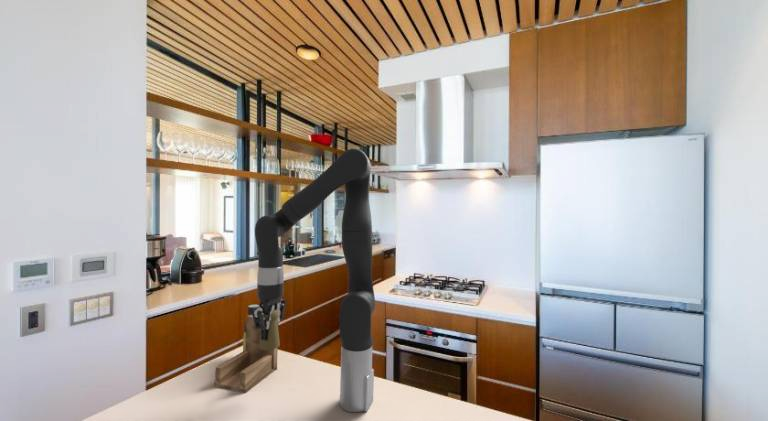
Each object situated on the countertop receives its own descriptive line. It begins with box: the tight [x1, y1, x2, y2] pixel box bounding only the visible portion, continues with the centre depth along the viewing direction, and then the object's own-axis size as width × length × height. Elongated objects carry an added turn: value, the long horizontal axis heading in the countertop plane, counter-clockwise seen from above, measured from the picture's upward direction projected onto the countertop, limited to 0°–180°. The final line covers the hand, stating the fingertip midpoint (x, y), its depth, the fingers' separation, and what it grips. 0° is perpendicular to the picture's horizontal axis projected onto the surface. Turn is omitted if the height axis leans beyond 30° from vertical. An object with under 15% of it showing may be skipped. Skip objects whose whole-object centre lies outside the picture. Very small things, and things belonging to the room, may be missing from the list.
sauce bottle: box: [242, 304, 259, 352], centre depth 122 cm, size 7×6×20 cm
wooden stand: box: [213, 314, 279, 394], centre depth 108 cm, size 12×16×18 cm
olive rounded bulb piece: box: [259, 309, 281, 350], centre depth 96 cm, size 6×6×11 cm
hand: (269, 337), depth 96 cm, fingers closed on olive rounded bulb piece, 4 cm apart
